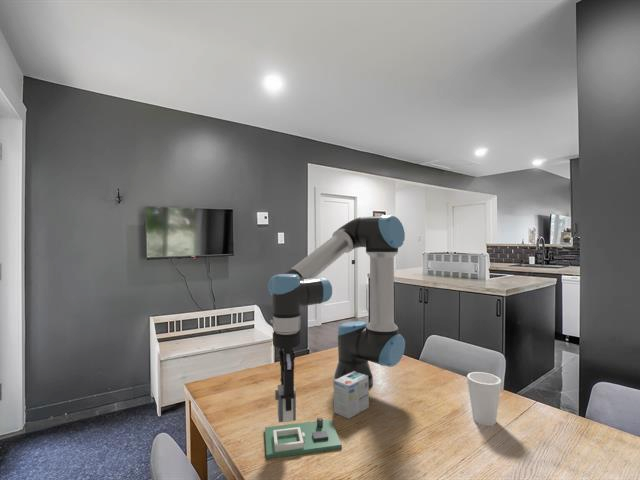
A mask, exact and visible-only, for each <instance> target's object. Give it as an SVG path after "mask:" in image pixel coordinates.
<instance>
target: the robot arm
mask: <svg viewBox="0 0 640 480" xmlns="http://www.w3.org/2000/svg"><path fill="white" fill-rule="evenodd" d="M405 234H406V233H405V229H404V225H403V223H402V221H401V219H399V218H398V217H396V216H395V215H387V214H383V215H375V216H373V215H372V216H361V217H357V218H354V219H352V220H350V221H348V222H346V223H345V224H343V225H342V226H340V227H339V228H338V229H336V230H335V231H334V232H333V233H332V236H331V237H330V238H328V240H326V241H325V242H324V243H323V244H321V245H320V246H319V247H317V248H316V249H315V250H314V251H312V252H311V253H309V254H308V255H307V256H306V257H305V258H303V259H302V260H300V261H299V262H297V264H295V265H293V267H291V268H290V269H289V270H287V271H286V272H285V273H279V274H276V275H273V276H272V277H270V278H269V281H268V283H267V291H268V293H269V294H270V295H271V297H272V318H273V319H270V323H271V324H272V330H273V332H272V346H273V347H275V348H276V349H279V351H278V356H279V357H278V358H279V365H280V385H283V392H284V395H283V396H281V399H283V422H282V423H288V422H289V423H290V422H294V421H293V398H294V386H295V359H296V358H295V357H296V355H295V353H294V348H298V347H299V346H300V345H301V332H300V331H299V330H301V307H308V306H313V305H318V304H319V305H320V304H322V303H325V302H329V300H331V298H332V295H333V286H332V283H331V282H330V280H329V279H328V278H325V277H318V276H319V275H320V274H321V273H323V272H324V271H325V270H326V269H327V268H329V267H330V266H331V265H332V264H333V263H335V262H336V261H337V260H338V259H339V258H340V257H342V256H343V255H344V254H348V253H351V252H352V251H353V250H354V249H358V248H365V253H366V255H368V256H369V284H370V285H369V296H370V297H369V311H370V312H369V322H367V321H361V320H360V321H349V322H344V323H341V324H340V325H339V326H338V330H337V342H338V343H337V350H338V351H337V352H338V354H337V355H338V361H337V365H336V368H335V372H334V379H333V381H334V380H335V379H338V378H340V377H342V376H344V375H347V374H349V373H351V372H353V371H356V372H358V373H361V374H364V375H367V376H368V384H369V387H371V386H372V385H373V383H374V376H373V373H372V369H371V367H370V364H369V362H371V363H375V364H377V365H379V366H384V367H389V368H390V367H395V366H396V365H398V364H399V362H400V361H401V360H402V358H403V356H404V354H405V349H406V340H405V338H404V337H403V335H402V334H400V333H399V327H398V326H397V324H396V323H395V294H394V293H395V274H394V273H395V272H394V271H395V265H394V263H395V262H394V261H395V256H396V255H397V254H398V253H399V249H400V248H401V247H402V246H403V245H404V242H405V238H406V237H405Z"/></svg>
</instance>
